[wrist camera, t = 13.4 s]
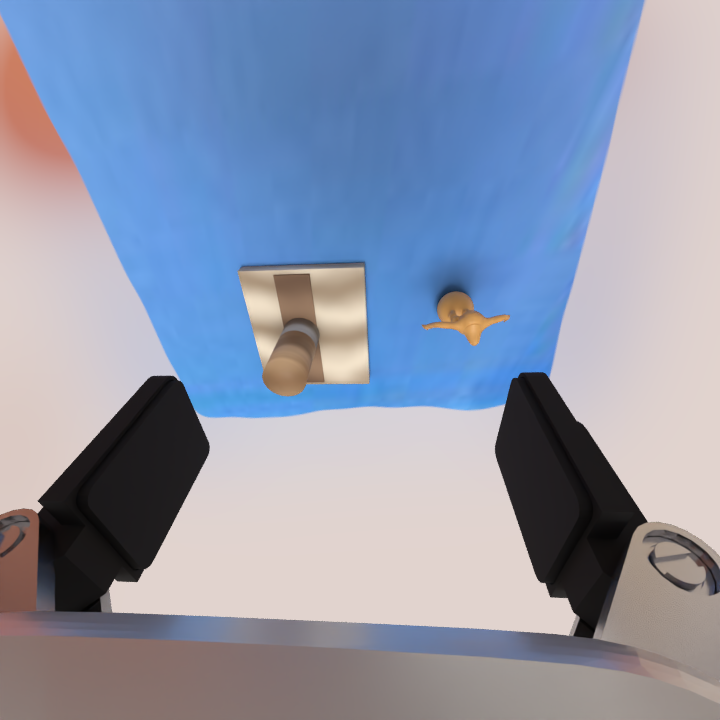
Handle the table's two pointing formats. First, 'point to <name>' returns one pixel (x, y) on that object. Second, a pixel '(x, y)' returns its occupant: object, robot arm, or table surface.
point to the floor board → (313, 314)
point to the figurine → (462, 316)
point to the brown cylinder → (292, 358)
